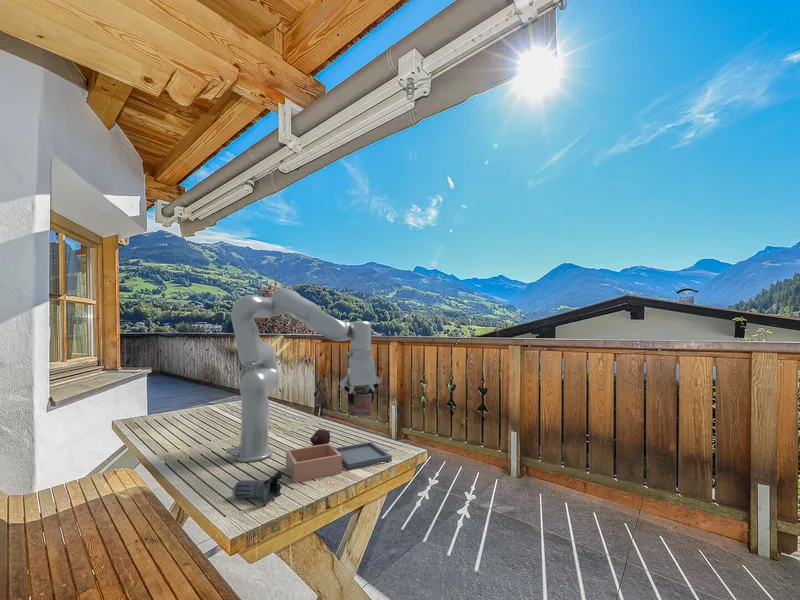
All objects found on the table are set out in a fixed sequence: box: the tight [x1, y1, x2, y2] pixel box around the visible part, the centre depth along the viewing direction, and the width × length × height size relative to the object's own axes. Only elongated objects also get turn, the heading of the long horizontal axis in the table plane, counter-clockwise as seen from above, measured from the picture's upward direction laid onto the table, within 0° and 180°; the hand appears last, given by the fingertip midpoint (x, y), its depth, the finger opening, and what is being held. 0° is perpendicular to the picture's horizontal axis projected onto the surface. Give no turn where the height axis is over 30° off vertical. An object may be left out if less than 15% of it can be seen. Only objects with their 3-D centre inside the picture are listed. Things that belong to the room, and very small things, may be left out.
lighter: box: [349, 386, 373, 417], centre depth 125 cm, size 8×3×10 cm, turn 80°
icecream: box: [309, 428, 331, 446], centre depth 137 cm, size 7×7×15 cm
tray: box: [334, 441, 393, 471], centre depth 124 cm, size 16×18×2 cm
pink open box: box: [285, 442, 343, 484], centre depth 113 cm, size 15×14×6 cm
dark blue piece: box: [232, 470, 283, 507], centre depth 93 cm, size 9×8×12 cm
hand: (360, 402), depth 125 cm, fingers closed on lighter, 7 cm apart
